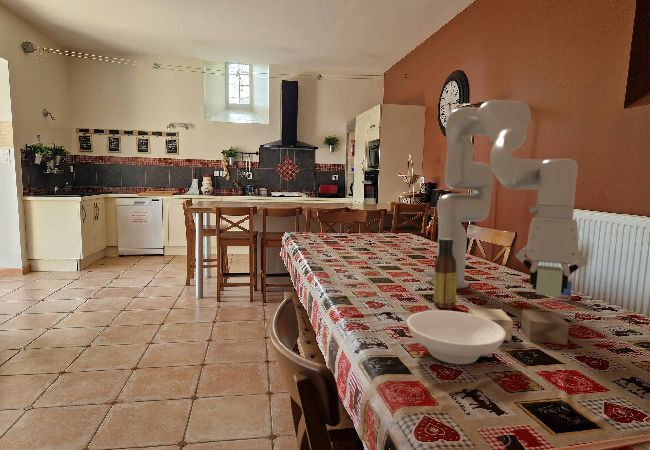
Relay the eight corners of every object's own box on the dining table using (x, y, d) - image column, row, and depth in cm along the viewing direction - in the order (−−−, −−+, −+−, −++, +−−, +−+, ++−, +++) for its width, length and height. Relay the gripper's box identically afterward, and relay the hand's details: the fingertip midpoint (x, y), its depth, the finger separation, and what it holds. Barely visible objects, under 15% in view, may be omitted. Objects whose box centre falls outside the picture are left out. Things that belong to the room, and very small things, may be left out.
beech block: (475, 339, 97) (477, 318, 96) (467, 326, 105) (468, 307, 104) (511, 341, 96) (512, 320, 96) (499, 328, 104) (501, 309, 103)
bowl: (446, 388, 74) (448, 351, 73) (387, 345, 92) (389, 315, 91) (525, 369, 82) (528, 336, 81) (457, 333, 99) (459, 306, 99)
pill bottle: (573, 301, 127) (576, 270, 126) (554, 300, 128) (557, 269, 127) (566, 296, 133) (569, 267, 132) (548, 295, 134) (551, 265, 133)
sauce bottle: (455, 304, 122) (460, 237, 120) (455, 310, 116) (459, 241, 114) (433, 301, 124) (436, 236, 122) (431, 307, 118) (435, 239, 116)
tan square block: (529, 341, 96) (530, 321, 96) (520, 329, 104) (522, 310, 103) (566, 345, 94) (569, 324, 94) (555, 332, 102) (557, 313, 102)
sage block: (535, 294, 96) (538, 269, 96) (535, 289, 101) (537, 264, 100) (560, 297, 94) (562, 271, 94) (558, 291, 99) (560, 267, 98)
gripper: (513, 212, 96) (508, 288, 98) (601, 216, 89) (592, 299, 91) (514, 209, 102) (508, 281, 104) (594, 214, 95) (587, 290, 97)
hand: (547, 288), depth 98 cm, fingers closed on sage block, 5 cm apart
